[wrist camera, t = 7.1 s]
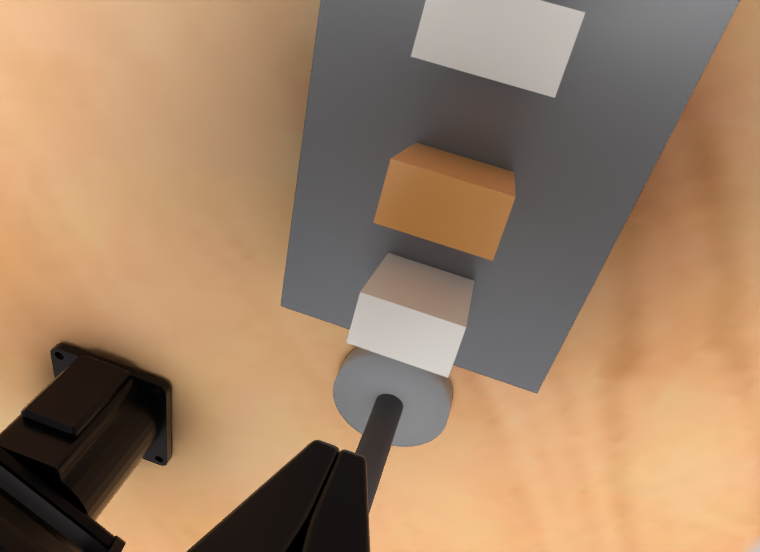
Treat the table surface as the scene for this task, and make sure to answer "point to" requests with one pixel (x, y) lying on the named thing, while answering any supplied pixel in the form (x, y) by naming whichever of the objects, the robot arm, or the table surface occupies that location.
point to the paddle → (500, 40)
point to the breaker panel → (490, 163)
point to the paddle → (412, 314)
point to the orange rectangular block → (447, 199)
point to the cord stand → (389, 406)
